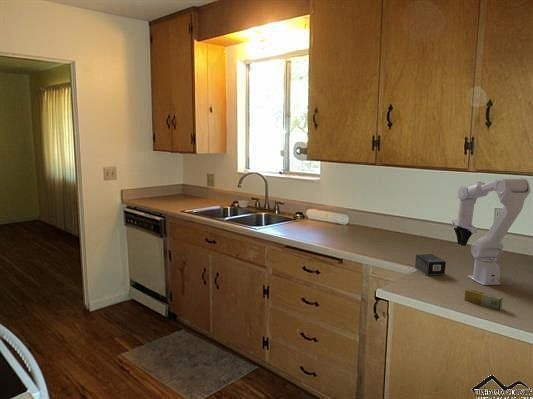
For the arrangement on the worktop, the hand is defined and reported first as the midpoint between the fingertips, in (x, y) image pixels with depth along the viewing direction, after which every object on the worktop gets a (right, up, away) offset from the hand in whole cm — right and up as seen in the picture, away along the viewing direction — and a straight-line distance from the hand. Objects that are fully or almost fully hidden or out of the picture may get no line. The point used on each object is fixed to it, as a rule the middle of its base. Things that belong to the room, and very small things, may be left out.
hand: (461, 244), depth 182 cm
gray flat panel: (-16, -11, -4) cm, 20 cm away
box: (-15, -9, -10) cm, 20 cm away
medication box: (-10, -17, -36) cm, 41 cm away
